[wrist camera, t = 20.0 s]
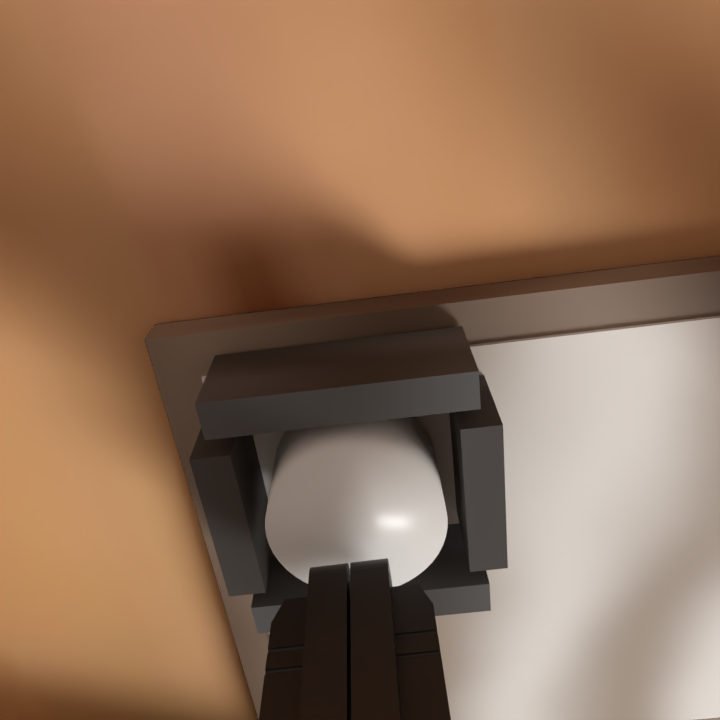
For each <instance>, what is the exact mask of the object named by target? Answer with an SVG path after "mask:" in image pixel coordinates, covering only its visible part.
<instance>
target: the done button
mask: <svg viewBox="0 0 720 720" xmlns="http://www.w3.org/2000/svg"><path fill="white" fill-rule="evenodd" d="M447 528H448V517H447V511H446V506H445V501H444V496H443V491H442V485H441V480H440V475H439V470H438V465H437V460H436V455H435V450H434V447H433V444H432V441H431V439H430V437H429V435H428V433H427V432H426V431H425V429H424V428H423V427H422V425H421V424H420V423H419V422H418V421H417V420H416V419H415V418H413V417H407V418H398V419H389V420H380V421H371V422H362V423H353V424H345V425H336V426H327V427H318V428H309V429H300V430H291V431H286V432H285V433H284V435H283V437H282V439H281V441H280V443H279V446H278V449H277V454H276V459H275V465H274V471H273V476H272V482H271V488H270V494H269V499H268V505H267V511H266V516H265V531H266V537H267V540H268V543H269V546H270V548H271V550H272V552H273V554H274V555H275V557H276V558H277V559H278V561H279V562H280V563H281V564H282V565H283V566H284V568H285V569H286V570H288V571H289V572H290V573H291V574H293V575H294V576H295V577H297V578H298V579H300V580H302V581H303V582H305V583H307V584H308V579H309V570H310V568H311V567H319V566H327V565H336V564H344V563H348V564H349V568H350V563H351V562H360V561H368V560H377V559H385V558H388V561H389V566H390V573H391V579H392V586H393V587H395V586H400V585H402V584H404V583H406V582H408V581H410V580H412V579H413V578H415V577H416V576H418V575H419V574H420V573H422V572H423V571H424V570H425V569H426V568H427V567H428V566H429V565H430V564H431V563H432V562H433V561H434V560H435V558H436V557H437V555H438V554H439V552H440V550H441V548H442V546H443V544H444V541H445V538H446V534H447Z"/></svg>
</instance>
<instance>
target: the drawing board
mask: <svg viewBox="0 0 720 720" xmlns="http://www.w3.org/2000/svg"><path fill="white" fill-rule="evenodd" d="M145 343H146V346H147V350H148V353H149V356H150V360H151V363H152V366H153V370H154V373H155V376H156V380H157V383H158V386H159V390H160V393H161V396H162V400H163V403H164V406H165V410H166V413H167V416H168V420H169V423H170V426H171V430H172V433H173V436H174V440H175V443H176V446H177V450H178V453H179V456H180V460H181V463H182V466H183V470H184V473H185V476H186V480H187V483H188V486H189V490H190V493H191V496H192V500H193V503H194V506H195V510H196V513H197V516H198V520H199V523H200V526H201V530H202V533H203V536H204V540H205V543H206V546H207V550H208V553H209V556H210V560H211V563H212V566H213V570H214V573H215V576H216V580H217V583H218V586H219V590H220V593H221V596H222V600H223V603H224V606H225V610H226V613H227V616H228V620H229V623H230V626H231V630H232V633H233V636H234V640H235V643H236V646H237V650H238V653H239V656H240V660H241V663H242V666H243V670H244V673H245V676H246V680H247V683H248V686H249V690H250V693H251V696H252V700H253V703H254V706H255V710H256V713H257V716H258V720H259V714H260V706H261V698H262V690H263V683H264V675H265V667H266V659H267V653H268V643H269V635H270V627H271V622H272V620H273V619H274V617H275V615H276V614H277V612H278V610H279V608H280V607H281V605H282V603H283V602H284V600H285V599H293V598H301V597H307V594H308V584H307V583H305V582H303V581H302V580H300V579H298V578H297V577H295V576H294V575H293V574H291V573H290V572H289V571H288V570H286V569H285V568H284V566H283V565H282V564H281V563H280V562H279V561H278V559H277V558H276V557H275V555H274V554H273V552H272V550H271V548H270V546H269V543H268V540H267V537H266V531H265V516H266V511H267V505H268V499H269V494H270V488H271V482H272V476H273V471H274V465H275V459H276V454H277V449H278V446H279V443H280V441H281V439H282V437H283V435H284V433H285V432H286V431H291V430H300V429H309V428H318V427H327V426H336V425H345V424H353V423H362V422H371V421H380V420H389V419H398V418H407V417H413V418H415V419H416V420H417V421H418V422H419V423H420V424H421V425H422V427H423V428H424V429H425V431H426V432H427V433H428V435H429V437H430V439H431V441H432V444H433V447H434V450H435V455H436V460H437V465H438V470H439V475H440V480H441V485H442V491H443V496H444V501H445V506H446V511H447V517H448V528H447V534H446V538H445V541H444V544H443V546H442V548H441V550H440V552H439V554H438V555H437V557H436V558H435V560H434V561H433V562H432V563H431V564H430V565H429V566H428V567H427V568H426V569H425V570H424V571H423V572H422V573H420V574H419V575H418V576H416V577H415V578H413V579H412V580H410V581H408V582H406V583H404V584H402V585H400V586H403V585H412V584H419V585H420V586H421V588H422V589H423V590H424V592H425V593H426V595H427V596H428V597H429V599H430V600H431V602H432V603H433V606H434V612H435V619H436V625H437V632H438V638H439V645H440V652H441V658H442V664H443V671H444V677H445V684H446V690H447V697H448V703H449V710H450V716H451V720H720V256H715V257H707V258H699V259H690V260H682V261H674V262H666V263H657V264H649V265H641V266H633V267H624V268H616V269H608V270H600V271H592V272H583V273H575V274H567V275H559V276H550V277H542V278H534V279H526V280H517V281H509V282H501V283H493V284H484V285H476V286H468V287H460V288H452V289H443V290H435V291H427V292H419V293H410V294H402V295H394V296H386V297H377V298H369V299H361V300H353V301H344V302H336V303H328V304H320V305H312V306H303V307H295V308H287V309H279V310H270V311H262V312H254V313H246V314H237V315H229V316H221V317H213V318H204V319H196V320H188V321H180V322H172V323H163V324H155V325H154V326H153V328H152V329H151V331H150V332H149V334H148V335H147V337H146V339H145Z"/></svg>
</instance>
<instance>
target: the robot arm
mask: <svg viewBox="0 0 720 720" xmlns="http://www.w3.org/2000/svg"><path fill="white" fill-rule="evenodd" d="M259 720H451V716H450V710H449V703H448V697H447V690H446V684H445V677H444V671H443V664H442V658H441V652H440V645H439V638H438V632H437V625H436V619H435V612H434V606H433V603H432V602H431V600H430V599H429V597H428V596H427V595H426V593H425V592H424V590H423V589H422V588H421V586H420V585H419V584H412V585H403V586H395V587H393V586H392V579H391V573H390V566H389V561H388V558H385V559H377V560H368V561H360V562H351V563H350V568H349V564H348V563H344V564H336V565H327V566H319V567H311V568H310V570H309V579H308V594H307V597H301V598H293V599H285V600H284V602H283V603H282V605H281V607H280V608H279V610H278V612H277V614H276V615H275V617H274V619H273V620H272V622H271V627H270V635H269V643H268V653H267V659H266V667H265V675H264V683H263V690H262V698H261V706H260V714H259Z"/></svg>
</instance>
